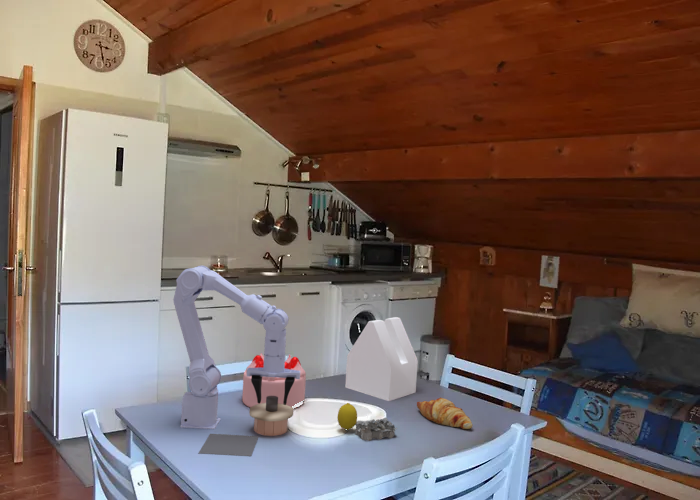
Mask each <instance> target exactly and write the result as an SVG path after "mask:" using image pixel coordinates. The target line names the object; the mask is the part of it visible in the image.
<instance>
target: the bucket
mask: <svg viewBox="0 0 700 500" xmlns="http://www.w3.org/2000/svg"><path fill="white" fill-rule="evenodd" d="M253 419H254V420H253V431H254V432H255V433H256V434H258V435H262V436H265V437H267V436H269V437H273V436H274V437H275V436H276V437H277V436H282V435H284V434H286V433H287V432H288V429H289V427H288V426H289V419H286V420H282V421H263V420H258V419H255V418H253Z"/></svg>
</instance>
